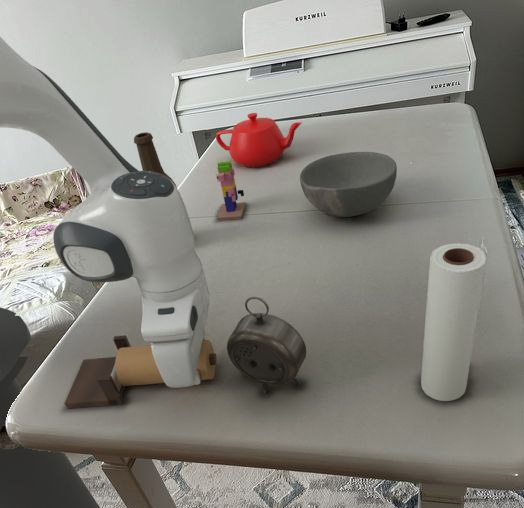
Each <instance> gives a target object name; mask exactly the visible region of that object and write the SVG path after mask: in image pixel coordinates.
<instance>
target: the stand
mask: <svg viewBox="0 0 524 508" xmlns="http://www.w3.org/2000/svg"><path fill="white" fill-rule="evenodd" d="M112 339H113V342H114V344H115V346H116V349H117V351H118V350H119V349H120V348H124V347H132V346H131V344H130V342H129V338H128V336H127V335H126V334H123V335H114V336H113V338H112ZM115 360H116V356H109V357H100V358H99V357H98V358H87V359H82V362H81V364H80V367H79V369H78V371H77V374H76V376H75V377H74V381H73V383H72V385H71V388H70V390H69V391H68V394H67V396H66V399H65V401H64V406H65V408H66V409H67V410H68V409H69V410H71V409H80V408H81V409H82V408H94V407H95V408H97V407H108V406H109V407H110V406H121V405H123V403H124V399H123V395H124V391H125V388H126V386H123V385H121V383H120V382H119V380H118V377H117V379H116V382H114V380H113V378H112V376H111V373H112V370H113V368H114V365H115Z"/></svg>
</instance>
